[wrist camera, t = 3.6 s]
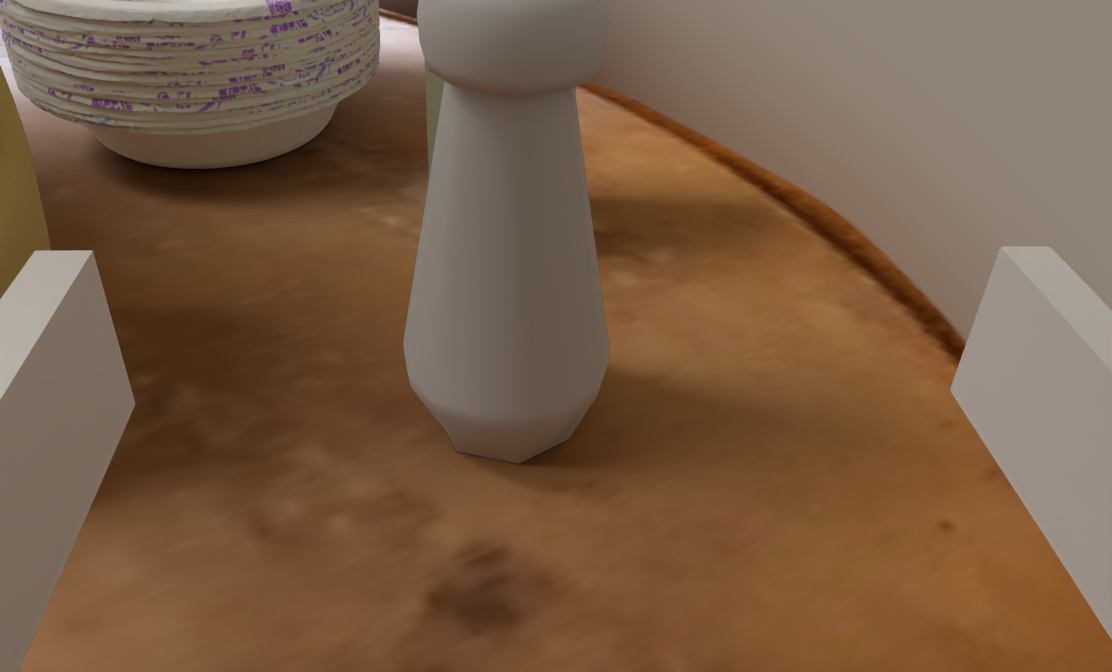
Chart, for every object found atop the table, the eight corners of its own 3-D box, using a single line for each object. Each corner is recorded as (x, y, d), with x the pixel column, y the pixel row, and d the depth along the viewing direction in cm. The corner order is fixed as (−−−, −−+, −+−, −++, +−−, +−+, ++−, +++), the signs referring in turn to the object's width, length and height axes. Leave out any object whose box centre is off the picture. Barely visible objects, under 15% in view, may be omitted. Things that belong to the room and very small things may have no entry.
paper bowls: (395, 196, 39) (383, 0, 35) (-7, 215, 37) (-78, 5, 32) (380, 62, 51) (369, -96, 47) (76, 69, 49) (33, -99, 44)
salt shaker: (400, 364, 30) (373, -71, 23) (577, 348, 31) (608, -72, 24) (418, 496, 26) (391, 6, 18) (624, 472, 27) (680, 1, 19)
